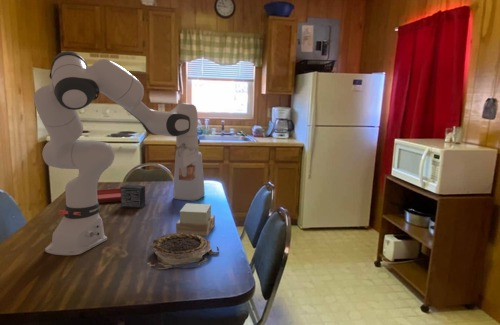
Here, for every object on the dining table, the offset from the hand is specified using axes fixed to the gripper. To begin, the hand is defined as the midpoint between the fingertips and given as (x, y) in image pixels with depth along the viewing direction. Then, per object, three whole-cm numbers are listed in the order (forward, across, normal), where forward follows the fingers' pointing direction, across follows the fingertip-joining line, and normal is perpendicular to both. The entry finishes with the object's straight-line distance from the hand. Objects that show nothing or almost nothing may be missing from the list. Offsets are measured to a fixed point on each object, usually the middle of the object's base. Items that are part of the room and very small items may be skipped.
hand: (187, 174), depth 154 cm
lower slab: (+24, -3, -5) cm, 24 cm away
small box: (+24, +20, +35) cm, 47 cm away
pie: (+24, -25, -6) cm, 35 cm away
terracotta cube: (+2, 0, 0) cm, 2 cm away
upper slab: (+19, -2, -4) cm, 19 cm away
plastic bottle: (+24, +42, +13) cm, 50 cm away
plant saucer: (+24, +30, +53) cm, 66 cm away
